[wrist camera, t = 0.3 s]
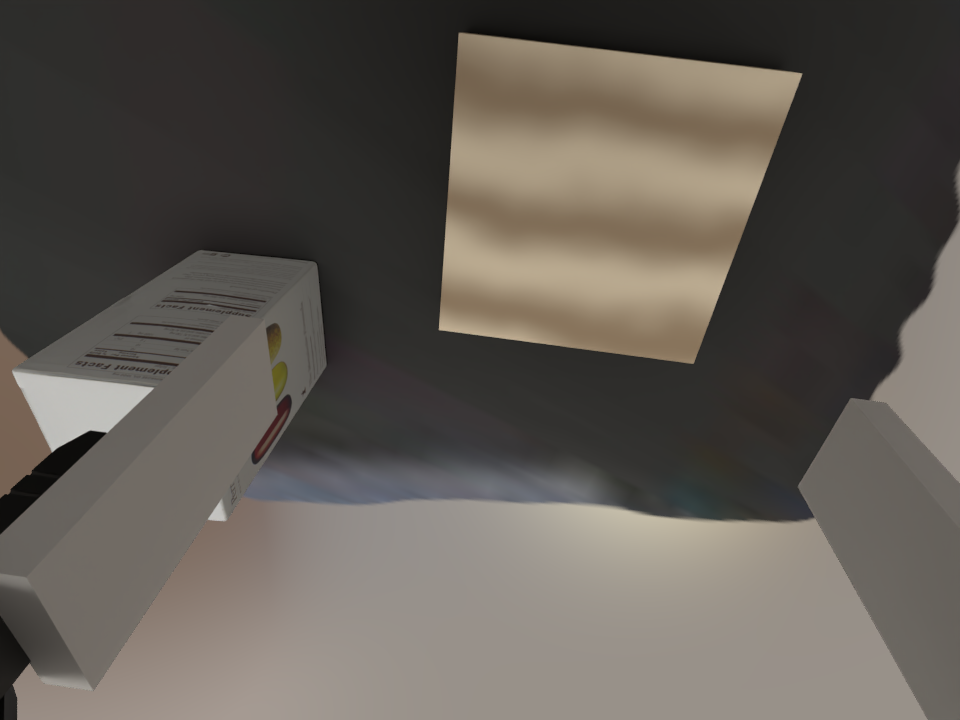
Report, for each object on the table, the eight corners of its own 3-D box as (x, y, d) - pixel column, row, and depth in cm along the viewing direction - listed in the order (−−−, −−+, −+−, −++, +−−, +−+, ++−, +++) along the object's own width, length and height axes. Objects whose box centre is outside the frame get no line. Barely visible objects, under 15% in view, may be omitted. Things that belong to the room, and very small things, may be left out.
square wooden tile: (465, 32, 31) (458, 32, 28) (780, 69, 30) (802, 73, 28) (445, 310, 40) (439, 329, 38) (683, 342, 40) (693, 363, 37)
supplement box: (329, 367, 44) (230, 529, 30) (221, 355, 44) (71, 510, 30) (318, 257, 39) (191, 390, 25) (195, 245, 39) (1, 369, 25)
